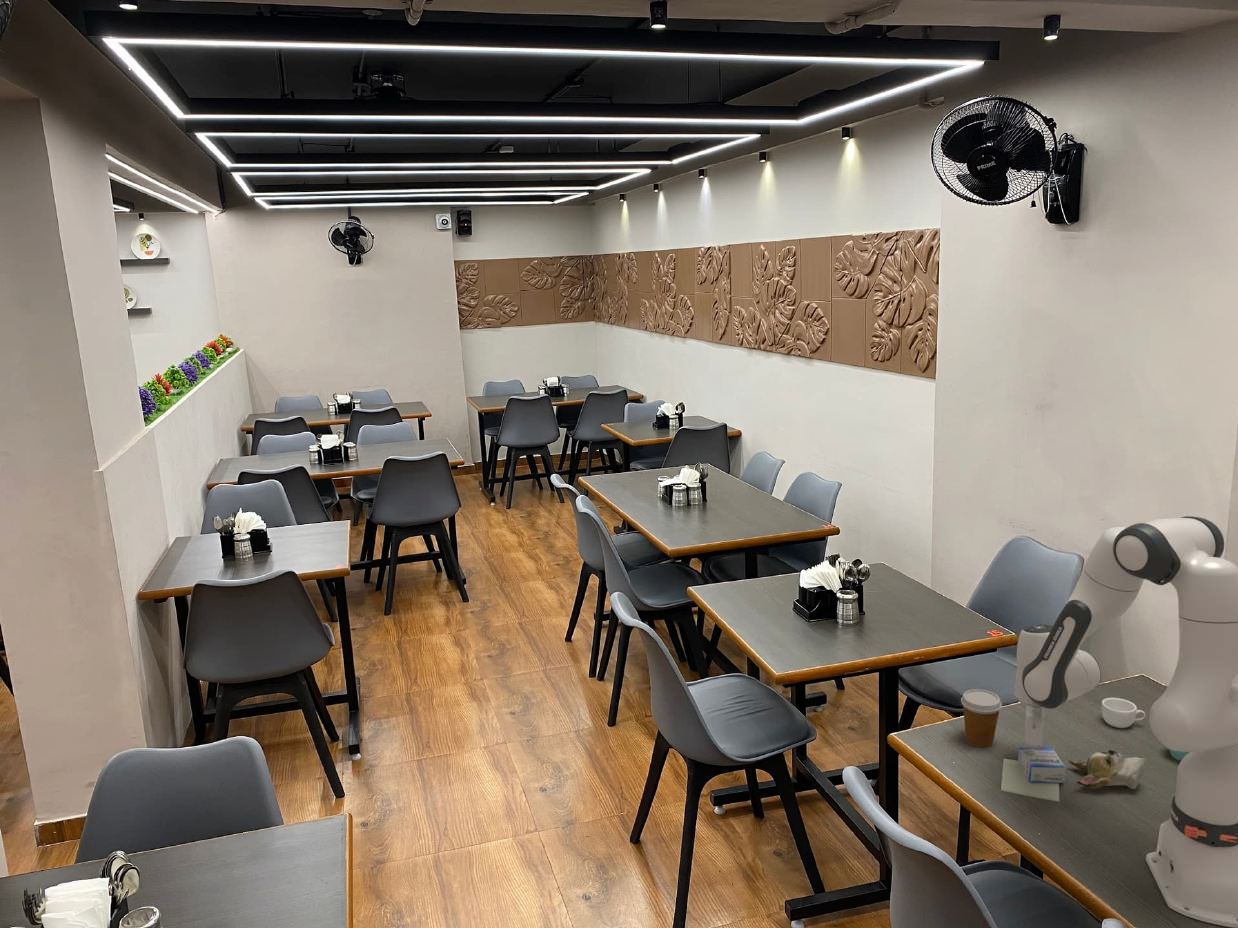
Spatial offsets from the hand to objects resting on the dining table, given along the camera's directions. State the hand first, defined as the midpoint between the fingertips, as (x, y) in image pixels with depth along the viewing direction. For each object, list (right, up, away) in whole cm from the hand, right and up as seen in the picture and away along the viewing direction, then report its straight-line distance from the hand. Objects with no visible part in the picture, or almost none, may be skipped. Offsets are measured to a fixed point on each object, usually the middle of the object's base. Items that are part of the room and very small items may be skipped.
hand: (1032, 744), depth 212 cm
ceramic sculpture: (+15, -8, -5) cm, 17 cm away
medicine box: (+2, -3, +3) cm, 5 cm away
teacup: (+32, -1, +19) cm, 37 cm away
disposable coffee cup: (-7, -4, +15) cm, 17 cm away
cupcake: (+38, -4, +3) cm, 38 cm away
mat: (-2, -8, -3) cm, 8 cm away
